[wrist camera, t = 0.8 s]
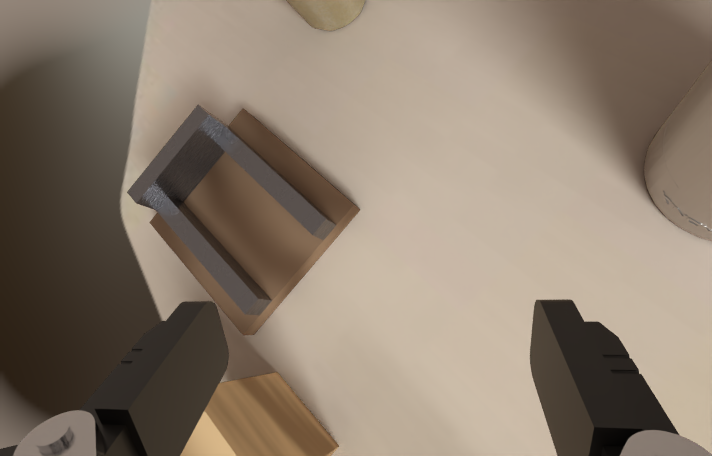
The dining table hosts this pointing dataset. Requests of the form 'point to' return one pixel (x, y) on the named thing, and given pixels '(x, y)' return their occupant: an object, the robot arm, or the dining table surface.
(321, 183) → the cradle
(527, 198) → the dining table surface
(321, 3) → the flower pot
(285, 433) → the oak plank
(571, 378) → the robot arm
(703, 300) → the dining table surface
